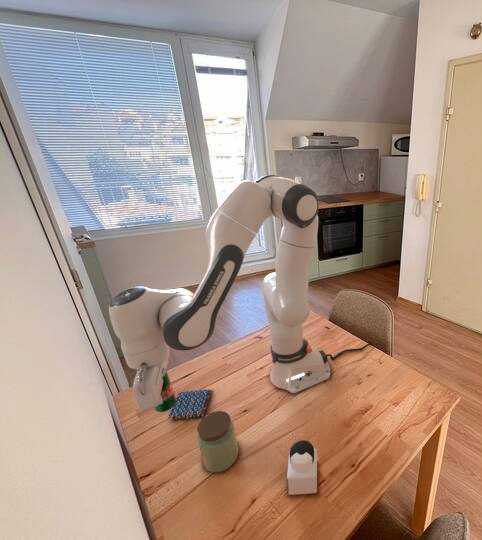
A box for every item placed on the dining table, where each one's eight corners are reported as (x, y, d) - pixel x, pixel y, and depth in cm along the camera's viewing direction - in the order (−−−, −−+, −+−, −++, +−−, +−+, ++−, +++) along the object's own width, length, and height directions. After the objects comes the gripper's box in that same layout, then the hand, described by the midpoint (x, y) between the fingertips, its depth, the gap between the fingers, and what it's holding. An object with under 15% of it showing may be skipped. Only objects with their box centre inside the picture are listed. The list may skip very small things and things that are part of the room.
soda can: (167, 415, 76) (155, 380, 71) (150, 411, 77) (137, 377, 72) (180, 399, 80) (170, 366, 75) (164, 396, 81) (153, 363, 76)
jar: (237, 436, 87) (231, 405, 82) (239, 465, 80) (232, 433, 74) (204, 446, 84) (196, 414, 79) (203, 477, 77) (193, 444, 71)
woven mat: (204, 417, 93) (203, 412, 92) (168, 421, 91) (167, 416, 90) (212, 391, 102) (211, 387, 101) (180, 394, 101) (179, 390, 100)
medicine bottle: (290, 466, 80) (288, 437, 75) (316, 464, 80) (316, 435, 75) (288, 495, 73) (285, 465, 68) (316, 493, 74) (316, 463, 69)
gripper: (154, 378, 63) (169, 422, 69) (168, 325, 80) (179, 363, 86) (119, 386, 61) (138, 430, 67) (141, 329, 78) (155, 369, 84)
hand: (161, 392), depth 76 cm, fingers closed on soda can, 5 cm apart
